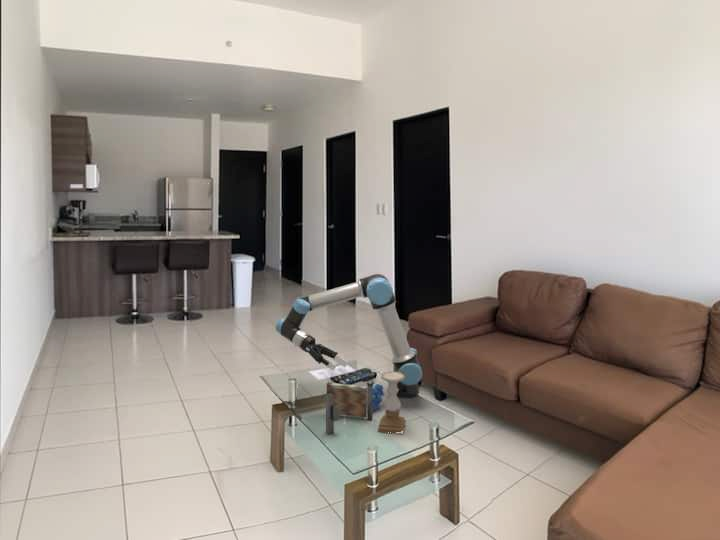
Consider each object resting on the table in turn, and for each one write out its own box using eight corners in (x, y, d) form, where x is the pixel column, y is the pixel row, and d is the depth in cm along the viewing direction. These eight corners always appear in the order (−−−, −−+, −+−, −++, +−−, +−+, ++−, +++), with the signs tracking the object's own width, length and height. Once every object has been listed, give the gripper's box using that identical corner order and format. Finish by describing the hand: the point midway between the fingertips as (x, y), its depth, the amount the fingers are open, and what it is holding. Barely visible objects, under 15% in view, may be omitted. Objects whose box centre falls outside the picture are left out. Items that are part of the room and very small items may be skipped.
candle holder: (403, 434, 223) (404, 381, 219) (377, 432, 225) (378, 379, 221) (406, 423, 234) (407, 372, 230) (381, 421, 236) (382, 370, 232)
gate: (366, 416, 239) (366, 386, 236) (365, 418, 236) (365, 388, 234) (328, 412, 243) (328, 382, 240) (326, 414, 241) (326, 384, 238)
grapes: (374, 402, 256) (374, 379, 254) (386, 405, 252) (386, 381, 250) (362, 411, 246) (362, 387, 244) (375, 414, 242) (375, 390, 240)
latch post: (334, 429, 227) (334, 392, 225) (339, 433, 224) (339, 395, 222) (326, 432, 225) (325, 394, 222) (330, 435, 222) (330, 397, 219)
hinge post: (370, 417, 239) (370, 379, 237) (374, 419, 237) (375, 381, 234) (364, 419, 238) (365, 381, 235) (369, 421, 235) (369, 383, 232)
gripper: (312, 345, 257) (346, 370, 250) (288, 350, 234) (325, 377, 227) (319, 332, 256) (354, 356, 249) (295, 335, 233) (333, 362, 226)
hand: (340, 366), depth 238 cm, fingers open, 13 cm apart
